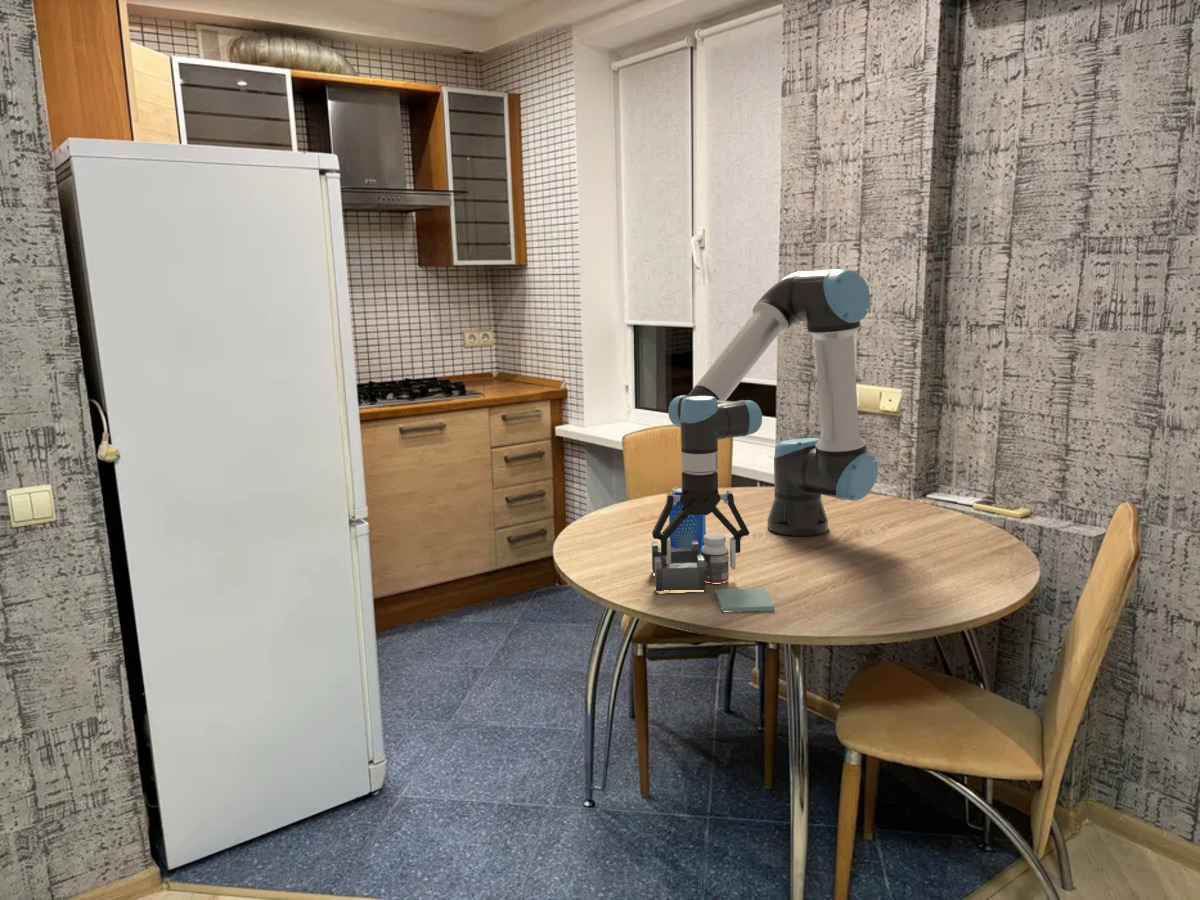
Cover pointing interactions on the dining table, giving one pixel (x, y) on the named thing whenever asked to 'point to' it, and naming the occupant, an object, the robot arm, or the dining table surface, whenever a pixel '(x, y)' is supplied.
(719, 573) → the pill bottle
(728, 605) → the coaster
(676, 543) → the beer can
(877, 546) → the dining table surface
